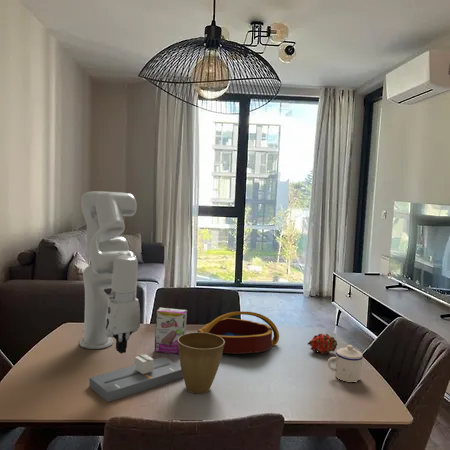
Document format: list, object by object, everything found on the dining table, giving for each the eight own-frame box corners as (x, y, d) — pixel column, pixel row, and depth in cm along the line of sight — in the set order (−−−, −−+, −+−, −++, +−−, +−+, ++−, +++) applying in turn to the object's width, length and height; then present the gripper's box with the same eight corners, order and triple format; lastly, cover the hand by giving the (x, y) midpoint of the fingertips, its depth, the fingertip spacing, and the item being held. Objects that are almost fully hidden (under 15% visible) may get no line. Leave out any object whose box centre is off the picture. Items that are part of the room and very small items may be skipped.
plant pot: (204, 404, 127) (207, 352, 126) (165, 390, 135) (167, 340, 133) (230, 386, 140) (233, 338, 138) (193, 373, 147) (196, 328, 146)
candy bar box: (153, 352, 164) (155, 310, 162) (157, 347, 169) (159, 307, 167) (182, 355, 163) (184, 313, 161) (185, 350, 168) (187, 309, 166)
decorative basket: (264, 338, 193) (264, 304, 194) (294, 353, 166) (294, 314, 166) (191, 344, 183) (191, 308, 183) (210, 361, 155) (210, 319, 156)
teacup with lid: (355, 372, 156) (358, 341, 155) (364, 384, 147) (367, 351, 146) (323, 371, 155) (325, 340, 154) (330, 383, 146) (332, 350, 145)
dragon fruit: (339, 358, 172) (308, 360, 173) (334, 340, 178) (305, 342, 179) (340, 346, 166) (309, 348, 167) (336, 328, 173) (306, 330, 174)
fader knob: (134, 368, 141) (134, 355, 140) (144, 365, 144) (145, 353, 143) (142, 374, 137) (143, 361, 137) (153, 371, 140) (154, 358, 139)
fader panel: (89, 386, 134) (89, 377, 134) (163, 365, 153) (164, 356, 153) (107, 402, 125) (108, 392, 125) (184, 377, 144) (184, 368, 144)
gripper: (107, 302, 126) (104, 362, 128) (150, 295, 136) (147, 350, 138) (95, 295, 131) (93, 352, 133) (138, 289, 141) (135, 342, 144)
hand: (121, 351), depth 136 cm, fingers closed
